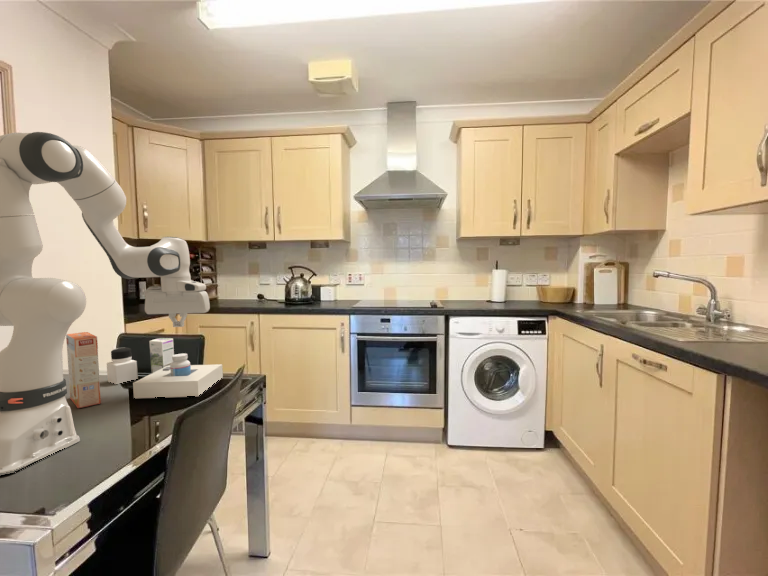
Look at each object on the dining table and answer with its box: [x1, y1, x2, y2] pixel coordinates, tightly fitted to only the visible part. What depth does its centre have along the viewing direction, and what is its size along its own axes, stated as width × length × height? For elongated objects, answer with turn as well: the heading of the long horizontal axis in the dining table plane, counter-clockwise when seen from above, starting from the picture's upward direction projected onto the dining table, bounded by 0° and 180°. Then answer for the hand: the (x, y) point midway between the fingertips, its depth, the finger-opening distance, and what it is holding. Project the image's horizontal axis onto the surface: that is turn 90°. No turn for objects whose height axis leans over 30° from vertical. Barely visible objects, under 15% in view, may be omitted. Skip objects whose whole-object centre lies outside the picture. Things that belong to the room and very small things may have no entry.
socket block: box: [132, 363, 224, 399], centre depth 129 cm, size 20×20×6 cm
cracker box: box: [65, 331, 101, 409], centre depth 117 cm, size 14×6×21 cm, turn 47°
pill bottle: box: [170, 352, 191, 376], centre depth 129 cm, size 6×6×11 cm
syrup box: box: [148, 337, 175, 374], centre depth 141 cm, size 6×6×14 cm
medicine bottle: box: [106, 347, 139, 385], centre depth 138 cm, size 7×7×12 cm
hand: (178, 326), depth 128 cm, fingers closed
